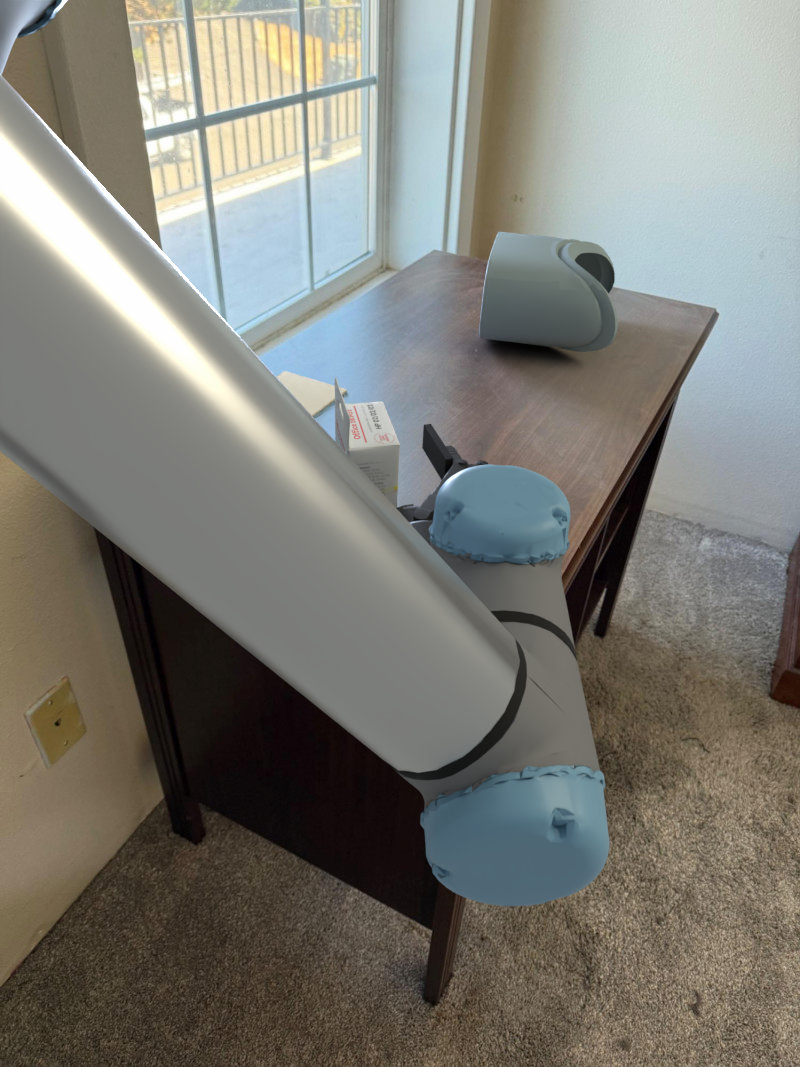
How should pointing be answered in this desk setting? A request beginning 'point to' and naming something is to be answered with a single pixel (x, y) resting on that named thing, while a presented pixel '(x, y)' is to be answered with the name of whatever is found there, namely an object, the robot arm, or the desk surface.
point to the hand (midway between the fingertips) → (360, 444)
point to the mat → (309, 391)
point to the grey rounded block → (548, 293)
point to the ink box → (369, 441)
